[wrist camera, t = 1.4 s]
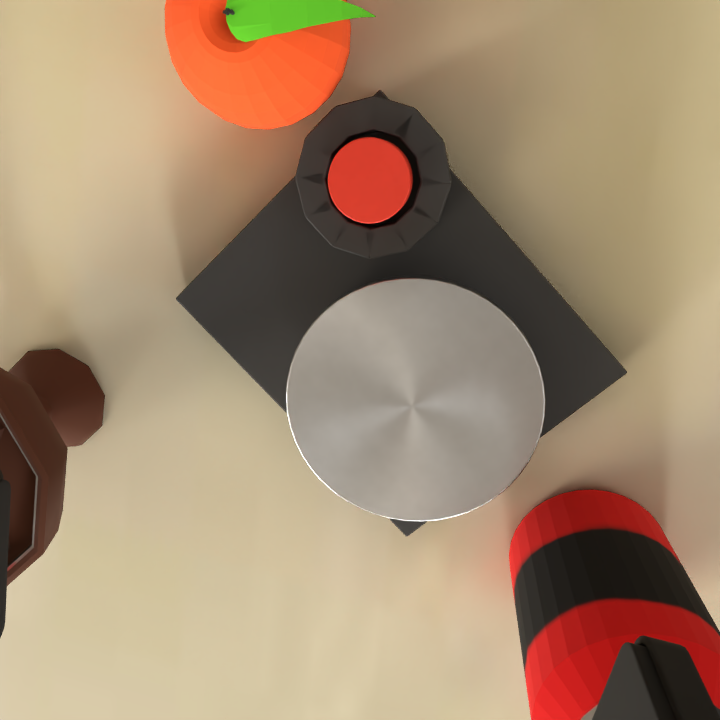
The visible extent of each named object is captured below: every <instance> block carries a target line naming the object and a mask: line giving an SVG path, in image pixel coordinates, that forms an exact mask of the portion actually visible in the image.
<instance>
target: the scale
mask: <svg viewBox="0 0 720 720" xmlns="http://www.w3.org/2000/svg"><path fill="white" fill-rule="evenodd" d="M364 137H375V138H380V139H383V140H386V141H389V142H391V143H393V144H394V145H396V146H397V147H398V148H399V149H400V150H401V151H402V152H403V153H404V154H405V155H406V157H407V159H408V160H409V163H410V165H411V169H412V174H413V184H412V190H411V193H410V196H409V198H408V200H407V202H406V203H405V205H404V206H403V207H402V208H401V209H400V210H399V211H398V212H397V213H396V214H395V215H393V216H392V217H390V218H389V219H387V220H384V221H382V222H378V223H369V224H367V223H360V222H357V221H354V220H352V219H350V218H348V217H347V216H345V215H344V214H343V213H342V212H341V211H340V210H339V209H338V208H337V207H336V205H335V204H334V202H333V200H332V198H331V196H330V192H329V188H328V173H329V168H330V165H331V163H332V161H333V158H334V157H335V155H336V154H337V153H338V151H339V150H340V149H341V148H342V147H344V146H345V145H346V144H348V143H349V142H351V141H353V140H356V139H359V138H364ZM404 275H422V276H431V277H438V278H442V279H446V280H450V281H454V282H457V283H460V284H462V285H465V286H467V287H470V288H472V289H474V290H476V291H477V292H479V293H481V294H483V295H485V296H486V297H488V298H489V299H490V300H492V301H493V302H494V303H496V304H497V305H498V306H500V307H501V308H502V309H503V310H504V311H505V312H506V313H507V314H508V315H509V316H510V317H511V318H512V319H513V320H514V321H515V322H516V324H517V325H518V326H519V328H520V329H521V330H522V332H523V333H524V335H525V336H526V338H527V340H528V342H529V343H530V345H531V347H532V349H533V351H534V354H535V356H536V359H537V361H538V364H539V366H540V370H541V374H542V378H543V382H544V390H545V417H544V422H543V427H542V432H541V435H540V437H542V436H543V435H544V434H546V433H547V432H548V431H550V430H551V429H552V428H554V427H555V426H556V425H558V424H559V423H560V422H562V421H563V420H564V419H566V418H567V417H568V416H570V415H571V414H572V413H574V412H575V411H576V410H578V409H579V408H580V407H582V406H583V405H585V404H586V403H587V402H589V401H590V400H591V399H593V398H594V397H595V396H597V395H598V394H599V393H601V392H602V391H603V390H605V389H606V388H607V387H609V386H610V385H611V384H613V383H614V382H615V381H617V380H618V379H619V378H621V377H622V376H623V375H625V374H626V373H627V371H626V370H625V369H624V368H623V366H622V365H621V364H620V363H619V362H618V361H617V359H616V358H615V357H614V356H613V355H612V354H611V353H610V351H609V350H608V349H607V348H606V347H605V346H604V345H603V343H602V342H601V341H600V340H599V339H598V338H597V337H596V335H595V334H594V333H593V332H592V331H591V330H590V329H589V327H588V326H587V325H586V324H585V323H584V322H583V321H582V319H581V318H580V317H579V316H578V315H577V314H576V313H575V311H574V310H573V309H572V308H571V307H570V306H569V305H568V303H567V302H566V301H565V300H564V299H563V298H562V297H561V295H560V294H559V293H558V292H557V291H556V290H555V289H554V287H553V286H552V285H551V284H550V283H549V282H548V281H547V279H546V278H545V277H544V276H543V275H542V274H541V273H540V271H539V270H538V269H537V268H536V267H535V266H534V265H533V263H532V262H531V261H530V260H529V259H528V258H527V256H526V255H525V254H524V253H523V252H522V251H521V250H520V248H519V247H518V246H517V245H516V244H515V243H514V242H513V240H512V239H511V238H510V237H509V236H508V235H507V234H506V232H505V231H504V230H503V229H502V228H501V227H500V226H499V224H498V223H497V222H496V221H495V220H494V219H493V218H492V216H491V215H490V214H489V213H488V212H487V211H486V210H485V208H484V207H483V206H482V205H481V204H480V203H479V202H478V200H477V199H476V198H475V197H474V196H473V195H472V194H471V192H470V191H469V190H468V189H467V188H466V187H465V186H464V184H463V183H462V182H461V181H460V180H459V179H458V178H457V176H456V175H455V174H454V173H453V172H452V171H451V170H450V168H449V164H448V158H447V153H446V148H445V143H444V142H443V139H442V138H441V137H440V136H439V134H438V133H437V132H436V131H435V130H434V129H433V128H432V126H431V125H430V124H429V123H428V122H427V121H426V120H425V118H424V117H423V116H422V115H421V114H420V113H419V111H418V110H416V109H415V108H414V107H410V106H407V105H404V104H401V103H398V102H394V101H391V100H389V99H388V97H387V96H386V95H385V94H384V93H383V92H382V91H381V90H379V91H378V92H377V93H376V94H375V95H374V96H372V97H368V98H364V99H361V100H357V101H353V102H349V103H346V104H342V105H338V106H336V107H334V108H333V109H332V110H331V111H330V112H329V113H328V114H327V115H326V116H325V117H324V118H323V119H322V120H321V121H320V122H319V124H318V125H317V126H316V127H315V128H314V129H313V130H312V131H311V132H310V133H309V134H308V135H307V137H306V138H305V141H304V145H303V149H302V153H301V157H300V161H299V164H298V168H297V172H296V176H295V177H294V178H293V179H292V180H291V181H290V182H289V183H288V184H287V185H286V186H285V187H284V188H283V189H282V190H281V191H280V192H279V193H278V194H277V195H276V196H275V197H274V198H273V199H272V200H271V201H270V202H269V203H268V204H267V206H266V207H265V208H264V209H263V210H262V211H261V212H260V213H259V214H258V215H257V216H256V217H255V218H254V219H253V220H252V221H251V222H250V223H249V224H248V225H247V226H246V227H245V228H244V229H243V230H242V231H241V232H240V233H239V234H238V235H237V236H236V237H235V238H234V239H233V240H232V241H231V242H230V243H229V244H228V245H227V246H226V247H225V248H224V249H223V251H222V252H221V253H220V254H219V255H218V256H217V257H216V258H215V259H214V260H213V261H212V262H211V263H210V264H209V265H208V266H207V267H206V268H205V269H204V270H203V271H202V272H201V273H200V274H199V275H198V276H197V277H196V278H195V279H194V280H193V281H192V282H191V283H190V284H189V285H188V286H187V287H186V288H185V289H184V290H183V291H182V292H181V293H180V295H179V296H178V297H177V298H176V300H177V301H178V302H179V303H180V304H181V305H182V306H183V307H184V308H185V309H186V310H187V311H188V312H189V313H190V314H191V315H192V316H193V317H194V318H195V319H196V320H197V321H198V322H199V323H200V324H201V325H202V327H203V328H204V329H205V330H206V331H207V332H208V333H209V334H210V335H211V336H212V337H213V338H214V339H215V340H216V341H217V342H218V343H219V344H220V345H221V346H222V347H223V348H224V349H225V350H226V351H227V352H228V353H229V354H230V355H231V356H232V357H233V358H234V359H235V360H236V362H237V363H238V364H239V365H240V366H241V367H242V368H243V369H244V370H245V371H246V372H247V373H248V374H249V375H250V376H251V377H252V378H253V379H254V380H255V381H256V382H257V383H258V384H259V385H260V386H261V387H262V388H263V389H264V390H265V391H266V392H267V393H268V394H269V395H270V397H271V398H272V399H273V400H274V401H275V402H276V403H277V404H278V405H279V406H280V407H281V408H282V409H283V410H284V411H285V412H286V413H287V405H286V388H287V378H288V374H289V369H290V365H291V362H292V359H293V356H294V353H295V351H296V349H297V347H298V345H299V343H300V341H301V339H302V337H303V336H304V334H305V333H306V332H307V330H308V329H309V327H310V326H311V325H312V323H313V322H314V321H315V320H316V319H317V318H318V317H319V315H320V314H321V313H322V312H323V311H324V310H325V309H326V308H327V307H329V306H330V305H331V304H332V303H334V302H335V301H336V300H337V299H339V298H340V297H342V296H343V295H345V294H347V293H348V292H350V291H352V290H353V289H356V288H358V287H360V286H362V285H365V284H367V283H370V282H373V281H377V280H380V279H384V278H389V277H396V276H404ZM389 519H390V518H389ZM390 520H391V521H392V522H393V523H394V524H395V525H396V526H397V527H398V528H399V529H400V530H401V531H402V532H403V533H404V534H405V535H406V536H408V535H410V534H411V533H412V532H414V531H415V530H417V529H418V528H419V527H421V526H422V525H423V524H425V523H426V522H427V521H403V520H397V519H390Z"/></svg>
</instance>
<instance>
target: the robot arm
mask: <svg viewBox="0 0 720 720" xmlns="http://www.w3.org/2000/svg"><path fill="white" fill-rule="evenodd" d="M10 500H11V486H10V483H9V482H8V481H7V480H4V479H3V474H2V472H1V470H0V637H1V635H2V632H3V629H4V625H5V612H6V590H7V567H8V545H9V523H10ZM592 720H720V716H719V714H718V712H717V710H716V708H715V706H714V704H713V702H712V700H711V697H710V695H709V693H708V691H707V689H706V687H705V685H704V683H703V681H702V679H701V677H700V675H699V672H698V670H697V668H696V666H695V664H694V662H693V660H692V658H691V656H690V654H689V652H688V651H687V649H686V648H685V647H684V646H682V645H679V644H675V643H671V642H668V641H664V640H660V639H656V638H652V637H648V636H644V635H643V636H639V637H638V638H637V639H636V641H635V643H634V644H633V643H629V642H626V643H624V644H623V645H622V647H621V649H620V651H619V653H618V656H617V658H616V661H615V663H614V666H613V668H612V671H611V673H610V676H609V678H608V681H607V683H606V686H605V688H604V691H603V693H602V696H601V698H600V701H599V703H598V706H597V708H596V711H595V713H594V716H593V718H592Z"/></svg>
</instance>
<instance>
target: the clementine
mask: <svg viewBox="0 0 720 720" xmlns="http://www.w3.org/2000/svg"><path fill="white" fill-rule="evenodd" d="M359 17H376V16H374V15H373V14H371V13H369V12H367V11H366V10H364V9H362V8H361V7H358V6H355V5H353V4H350V3H347V2H346V0H166V4H165V33H166V40H167V44H168V48H169V52H170V56H171V60H172V63H173V65H174V66H175V68H176V70H177V72H178V74H179V76H180V78H181V80H182V82H183V84H184V85H185V86H186V87H187V89H188V90H189V91H190V92H191V93H192V94H193V96H194V97H195V98H196V99H197V100H198V101H199V103H201V104H202V105H204V106H205V107H207V108H208V109H209V110H211V111H212V112H214V113H215V114H217V115H218V116H219V117H221V118H222V119H224V120H226V121H229V122H231V123H234V124H237V125H240V126H242V127H245V128H255V129H273V128H278V127H282V126H287V125H291V124H293V123H296V122H297V121H299V120H301V119H303V118H305V117H307V116H308V115H310V114H312V113H314V112H315V111H316V110H317V109H318V108H319V107H320V106H321V105H322V104H323V103H324V102H325V101H326V100H327V99H328V98H329V97H330V96H331V95H332V93H333V91H334V90H335V88H336V86H337V85H338V83H339V81H340V80H341V78H342V76H343V73H344V69H345V66H346V63H347V59H348V56H349V50H350V32H351V25H350V19H352V18H359Z"/></svg>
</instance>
